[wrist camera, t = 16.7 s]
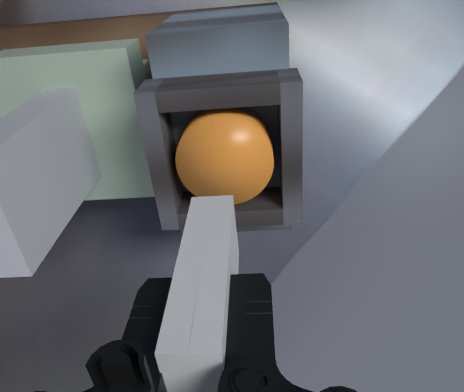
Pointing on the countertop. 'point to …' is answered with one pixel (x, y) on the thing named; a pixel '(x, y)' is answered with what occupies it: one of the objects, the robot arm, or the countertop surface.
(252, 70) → the rail bench
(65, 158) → the block
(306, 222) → the countertop surface
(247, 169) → the button
